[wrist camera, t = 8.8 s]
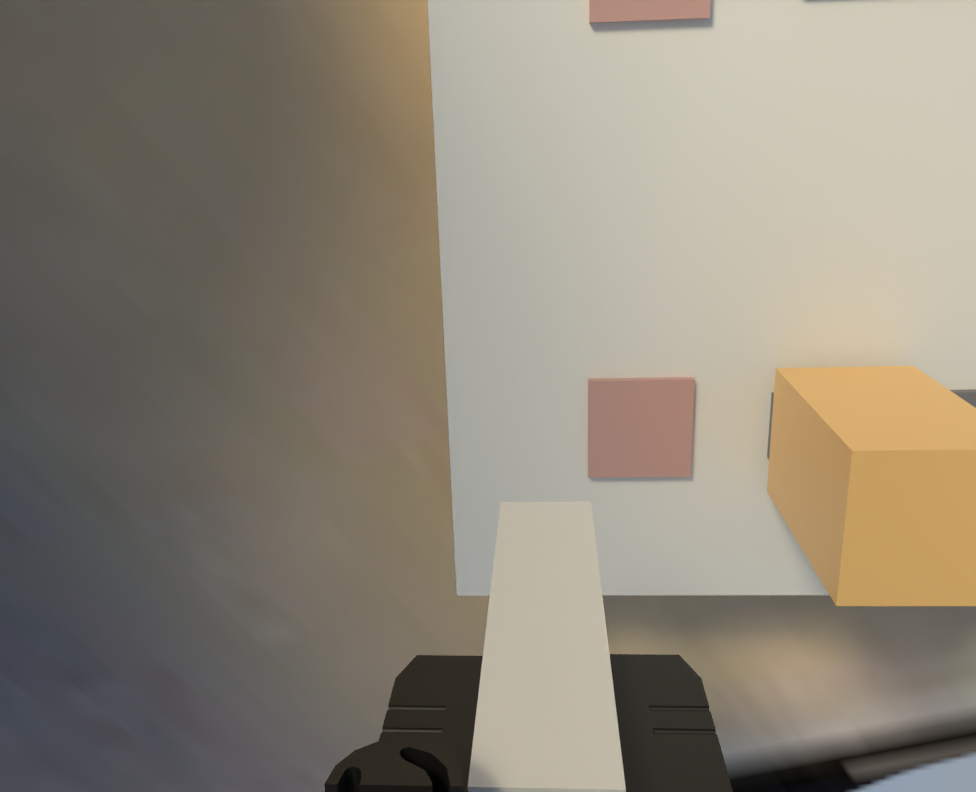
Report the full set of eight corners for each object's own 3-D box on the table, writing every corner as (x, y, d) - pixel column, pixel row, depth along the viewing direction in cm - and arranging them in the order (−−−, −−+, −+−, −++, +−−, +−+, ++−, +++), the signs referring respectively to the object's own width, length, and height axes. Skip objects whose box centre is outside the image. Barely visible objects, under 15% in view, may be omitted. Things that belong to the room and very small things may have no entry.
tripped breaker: (766, 491, 21) (836, 606, 16) (775, 367, 20) (852, 450, 15) (898, 490, 20) (1008, 606, 16) (913, 366, 19) (1035, 449, 15)
